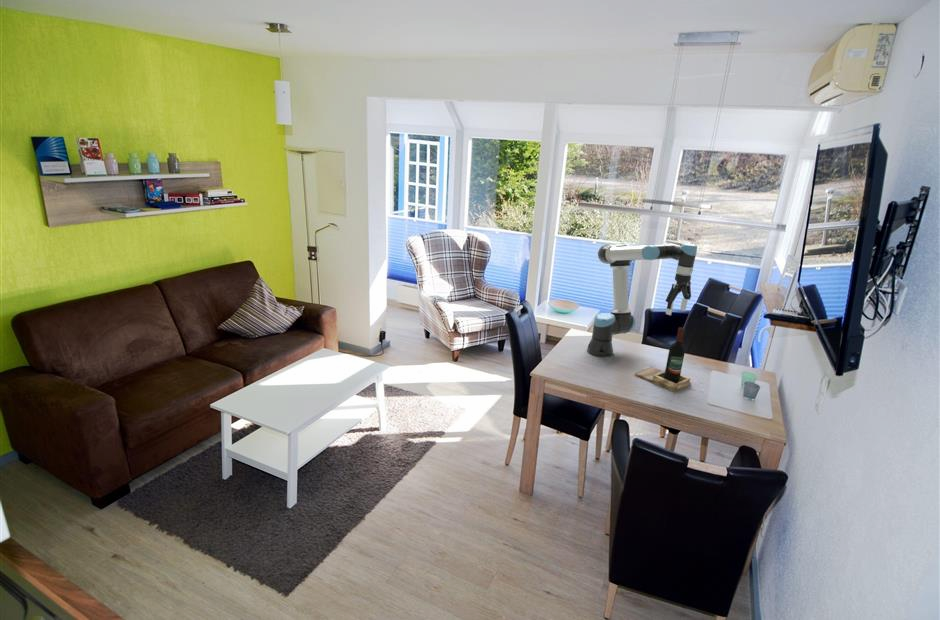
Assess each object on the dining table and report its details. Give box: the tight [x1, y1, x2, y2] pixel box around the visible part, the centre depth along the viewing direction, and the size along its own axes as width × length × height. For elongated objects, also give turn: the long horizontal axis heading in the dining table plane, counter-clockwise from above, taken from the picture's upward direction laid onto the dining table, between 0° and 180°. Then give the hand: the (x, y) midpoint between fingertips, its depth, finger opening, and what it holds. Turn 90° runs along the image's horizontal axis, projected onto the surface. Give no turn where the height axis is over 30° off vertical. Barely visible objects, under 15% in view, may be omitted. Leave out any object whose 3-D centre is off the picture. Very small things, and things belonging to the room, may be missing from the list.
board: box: [634, 366, 692, 393], centre depth 272 cm, size 24×16×4 cm, turn 39°
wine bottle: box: [664, 327, 686, 383], centre depth 263 cm, size 8×8×30 cm
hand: (675, 312), depth 268 cm, fingers open, 13 cm apart
